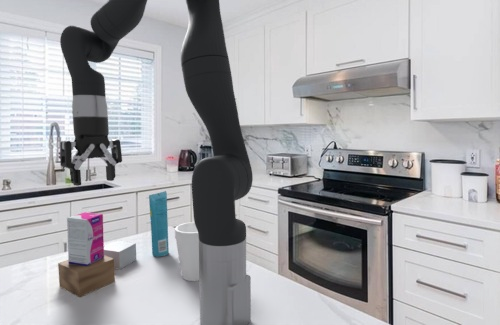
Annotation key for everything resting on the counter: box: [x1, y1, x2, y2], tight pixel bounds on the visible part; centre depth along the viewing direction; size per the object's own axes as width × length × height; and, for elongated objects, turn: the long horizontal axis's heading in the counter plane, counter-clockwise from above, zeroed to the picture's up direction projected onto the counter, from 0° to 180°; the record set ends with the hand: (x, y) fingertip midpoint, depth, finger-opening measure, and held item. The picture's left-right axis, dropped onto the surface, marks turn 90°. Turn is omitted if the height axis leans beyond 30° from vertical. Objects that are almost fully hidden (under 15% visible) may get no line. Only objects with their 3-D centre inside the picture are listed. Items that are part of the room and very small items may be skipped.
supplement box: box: [66, 211, 105, 266], centre depth 78 cm, size 6×6×12 cm
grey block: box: [104, 240, 137, 270], centre depth 91 cm, size 7×7×5 cm
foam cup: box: [174, 221, 199, 282], centre depth 83 cm, size 10×9×13 cm
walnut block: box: [57, 255, 116, 298], centre depth 79 cm, size 9×9×6 cm
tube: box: [148, 190, 170, 258], centre depth 97 cm, size 7×5×19 cm, turn 160°
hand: (94, 182), depth 77 cm, fingers open, 8 cm apart
